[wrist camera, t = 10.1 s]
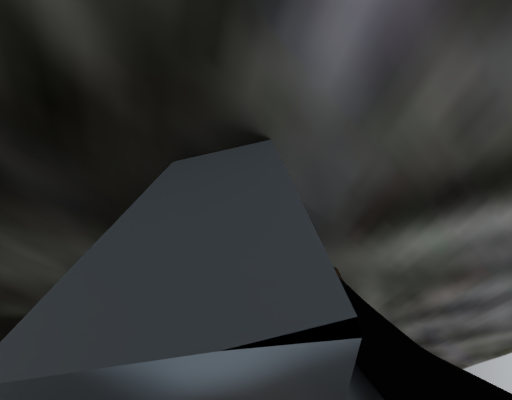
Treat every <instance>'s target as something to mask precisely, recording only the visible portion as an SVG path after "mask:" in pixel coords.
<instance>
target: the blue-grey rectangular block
mask: <svg viewBox="0 0 512 400" xmlns="http://www.w3.org/2000/svg"><path fill="white" fill-rule="evenodd" d="M361 339H362V337H361V332H360V327H359V322H358V317H357V315H356V313H355V311H354V309H353V307H352V304H351V302H350V300H349V298H348V296H347V294H346V292H345V290H344V288H343V286H342V284H341V282H340V280H339V278H338V276H337V274H336V272H335V269H334V267H333V265H332V263H331V261H330V259H329V257H328V255H327V253H326V251H325V249H324V247H323V245H322V243H321V241H320V239H319V237H318V234H317V232H316V230H315V228H314V226H313V224H312V222H311V220H310V218H309V216H308V214H307V212H306V210H305V208H304V206H303V204H302V202H301V199H300V197H299V195H298V193H297V191H296V189H295V187H294V185H293V183H292V181H291V179H290V177H289V175H288V173H287V171H286V169H285V167H284V164H283V162H282V160H281V158H280V156H279V154H278V152H277V150H276V148H275V146H274V144H273V142H272V140H267V141H262V142H258V143H253V144H249V145H245V146H240V147H236V148H231V149H227V150H222V151H218V152H213V153H209V154H205V155H200V156H196V157H191V158H187V159H182V160H178V161H174V162H172V163H171V164H170V165H169V166H168V167H167V168H166V169H165V171H164V172H163V173H162V174H161V175H160V176H159V177H158V178H157V179H156V180H155V181H154V182H153V183H152V184H151V185H150V186H149V187H148V188H147V189H146V190H145V191H144V192H143V194H142V195H141V196H140V197H139V198H138V199H137V200H136V201H135V202H134V203H133V204H132V205H131V206H130V207H129V208H128V209H127V210H126V211H125V212H124V213H123V214H122V215H121V216H120V218H119V219H118V220H117V221H116V222H115V223H114V224H113V225H112V226H111V227H110V228H109V229H108V230H107V231H106V232H105V233H104V234H103V235H102V236H101V237H100V238H99V239H98V241H97V242H96V243H95V244H94V245H93V246H92V247H91V248H90V249H89V250H88V251H87V252H86V253H85V254H84V255H83V256H82V257H81V258H80V259H79V260H78V261H77V262H76V263H75V265H74V266H73V267H72V268H71V269H70V270H69V271H68V272H67V273H66V274H65V275H64V276H63V277H62V278H61V279H60V280H59V281H58V282H57V283H56V284H55V285H54V286H53V288H52V289H51V290H50V291H49V292H48V293H47V294H46V295H45V296H44V297H43V298H42V299H41V300H40V301H39V302H38V303H37V304H36V305H35V306H34V307H33V308H32V309H31V310H30V312H29V313H28V314H27V315H26V316H25V317H24V318H23V319H22V320H21V321H20V322H19V323H18V324H17V325H16V326H15V327H14V328H13V329H12V330H11V331H10V332H9V333H8V335H7V336H6V337H5V338H4V339H3V340H2V341H1V342H0V400H345V399H346V395H347V391H348V388H349V384H350V380H351V376H352V373H353V369H354V365H355V361H356V358H357V354H358V350H359V346H360V343H361Z"/></svg>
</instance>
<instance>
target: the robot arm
mask: <svg viewBox="0 0 512 400" xmlns="http://www.w3.org/2000/svg"><path fill="white" fill-rule="evenodd" d="M337 276H338V275H337ZM338 278H339V280H340V282H341V284H342V286H343V288H344V290H345V292H346V294H347V296H348V298H349V300H350V302H351V304H352V307H353V309H354V311H355V313H356V315H357V317H358V322H359V327H360V332H361V337H362V339H361V343H360V346H359V350H358V354H357V358H356V361H355V365H354V369H353V373H352V376H351V380H350V384H349V388H348V391H347V395H346V399H345V400H512V394H511V393H509V392H507V391H505V390H503V389H501V388H499V387H497V386H495V385H493V384H491V383H489V382H487V381H485V380H483V379H481V378H479V377H477V376H475V375H473V374H471V373H469V372H467V371H465V370H463V369H461V368H459V367H457V366H455V365H453V364H451V363H449V362H447V361H445V360H443V359H441V358H439V357H437V356H435V355H434V354H432V353H430V352H428V351H427V350H425V349H424V348H422V347H421V346H419V345H418V344H417V343H415V342H414V341H413V340H411V339H410V338H409V337H408V336H406V335H405V334H404V333H403V332H401V331H400V330H399V329H398V328H397V327H395V326H394V325H393V324H392V323H390V322H389V321H388V320H387V319H386V318H384V317H383V316H382V315H381V314H379V313H378V312H377V311H376V310H375V309H373V308H372V307H371V306H370V305H369V304H367V303H366V302H365V301H364V300H363V299H362V298H361V297H360V296H359V295H358V294H356V293H355V292H354V291H353V290H352V289H351V288H350V287H349V286H348V285H347V284H345V282H344V281H343V280H342V279H341V278H340V277H339V276H338Z"/></svg>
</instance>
